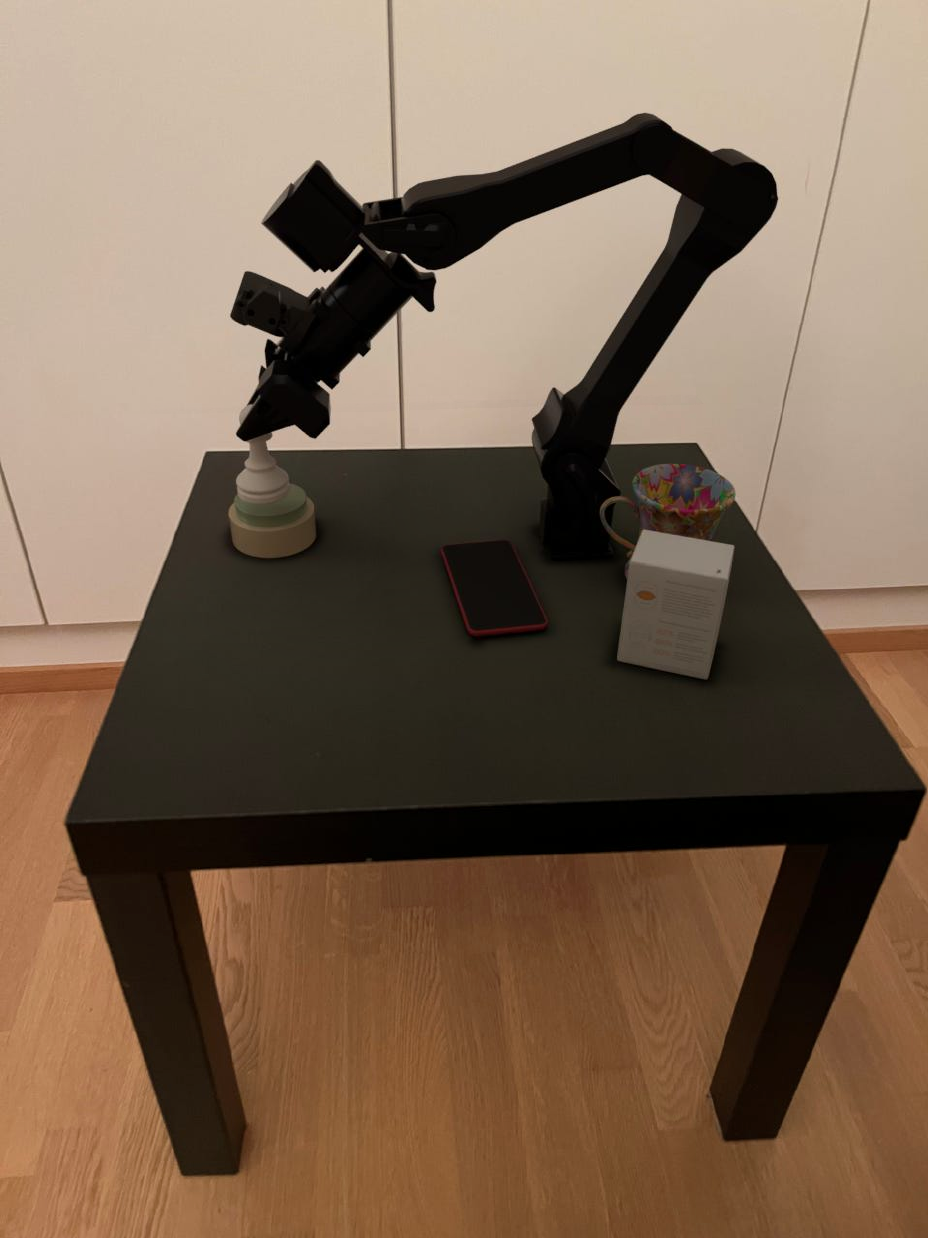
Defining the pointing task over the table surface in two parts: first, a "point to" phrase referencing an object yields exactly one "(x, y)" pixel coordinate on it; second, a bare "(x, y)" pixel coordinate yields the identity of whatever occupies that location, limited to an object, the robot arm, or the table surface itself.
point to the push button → (273, 525)
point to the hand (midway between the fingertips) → (241, 430)
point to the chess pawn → (261, 472)
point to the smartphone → (492, 588)
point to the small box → (674, 603)
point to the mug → (676, 502)
